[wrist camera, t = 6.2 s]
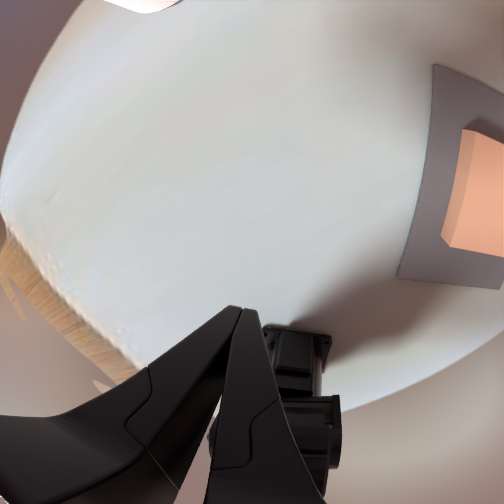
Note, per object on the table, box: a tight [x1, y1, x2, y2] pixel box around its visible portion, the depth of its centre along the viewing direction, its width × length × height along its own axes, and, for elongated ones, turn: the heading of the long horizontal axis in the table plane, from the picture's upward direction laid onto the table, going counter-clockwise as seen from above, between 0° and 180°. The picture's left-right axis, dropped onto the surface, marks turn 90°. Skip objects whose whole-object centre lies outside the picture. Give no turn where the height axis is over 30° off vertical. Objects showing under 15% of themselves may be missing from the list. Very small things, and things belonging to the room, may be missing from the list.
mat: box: [396, 64, 504, 290], centre depth 14 cm, size 16×12×1 cm
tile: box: [440, 129, 504, 257], centre depth 13 cm, size 8×2×8 cm
